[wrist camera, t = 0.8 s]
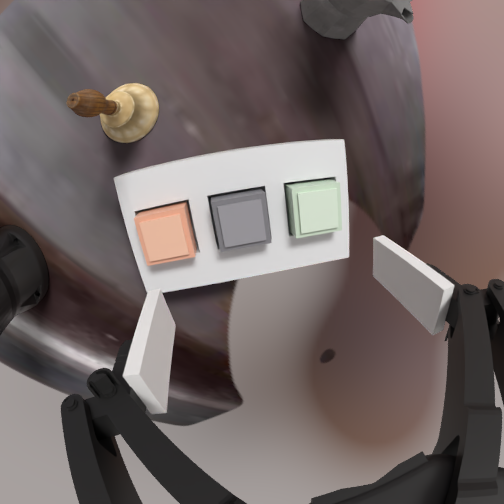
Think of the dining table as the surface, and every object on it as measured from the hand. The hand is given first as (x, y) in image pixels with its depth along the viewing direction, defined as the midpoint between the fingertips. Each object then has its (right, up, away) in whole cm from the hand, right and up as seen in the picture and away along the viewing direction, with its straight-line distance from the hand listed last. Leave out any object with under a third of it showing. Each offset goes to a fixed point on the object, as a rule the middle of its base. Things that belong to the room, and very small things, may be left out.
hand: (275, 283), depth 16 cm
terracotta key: (-12, +5, +17) cm, 21 cm away
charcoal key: (-3, +6, +18) cm, 19 cm away
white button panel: (-3, +8, +21) cm, 23 cm away
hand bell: (-17, +20, +14) cm, 30 cm away
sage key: (+6, +8, +18) cm, 21 cm away
